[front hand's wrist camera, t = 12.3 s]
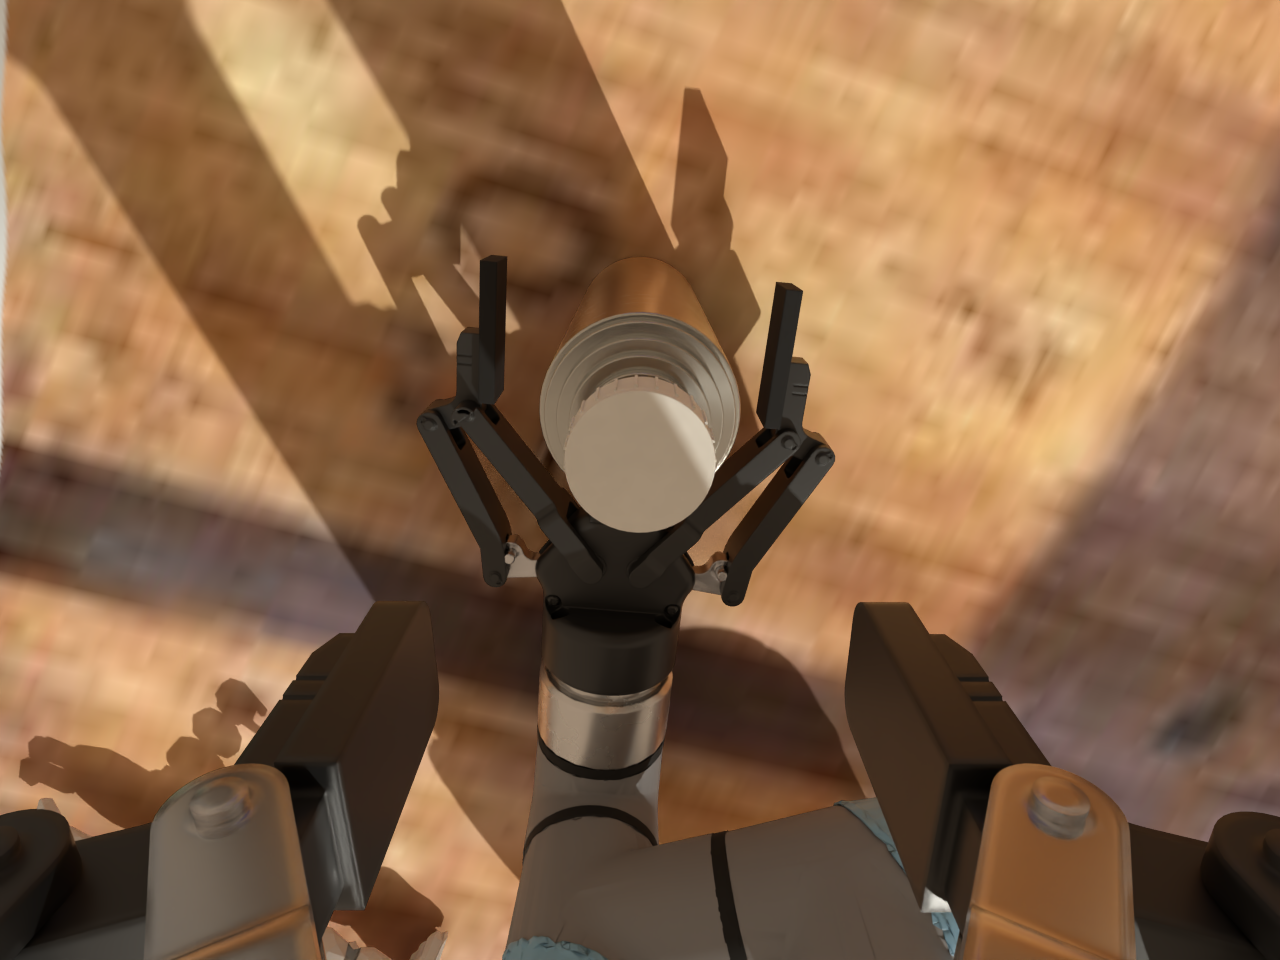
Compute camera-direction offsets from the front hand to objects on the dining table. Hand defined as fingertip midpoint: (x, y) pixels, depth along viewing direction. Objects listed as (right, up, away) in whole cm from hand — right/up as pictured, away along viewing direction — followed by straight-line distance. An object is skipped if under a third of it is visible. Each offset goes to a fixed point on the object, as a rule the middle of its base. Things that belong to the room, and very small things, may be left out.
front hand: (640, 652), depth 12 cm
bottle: (0, +12, +29) cm, 32 cm away
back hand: (0, +12, +23) cm, 26 cm away
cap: (0, +3, +8) cm, 9 cm away
